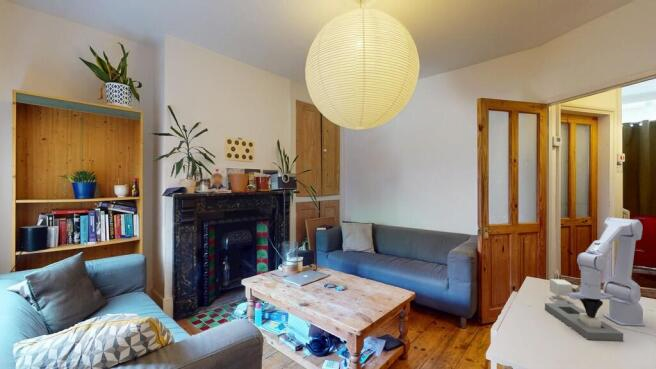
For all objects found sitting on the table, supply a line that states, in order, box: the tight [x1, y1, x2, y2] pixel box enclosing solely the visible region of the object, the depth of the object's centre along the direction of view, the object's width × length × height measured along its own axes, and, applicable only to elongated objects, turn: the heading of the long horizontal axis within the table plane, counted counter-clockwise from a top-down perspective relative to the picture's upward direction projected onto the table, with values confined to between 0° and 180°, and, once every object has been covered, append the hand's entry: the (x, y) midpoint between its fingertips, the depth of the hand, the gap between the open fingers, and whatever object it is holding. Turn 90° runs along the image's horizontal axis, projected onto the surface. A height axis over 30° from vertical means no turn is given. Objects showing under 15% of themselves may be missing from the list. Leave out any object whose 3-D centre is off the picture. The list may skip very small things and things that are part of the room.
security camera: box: [548, 278, 573, 304], centre depth 134 cm, size 6×7×10 cm
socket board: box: [544, 302, 624, 342], centre depth 114 cm, size 12×24×3 cm, turn 174°
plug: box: [579, 313, 602, 328], centre depth 109 cm, size 4×5×6 cm
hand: (590, 316), depth 108 cm, fingers closed
